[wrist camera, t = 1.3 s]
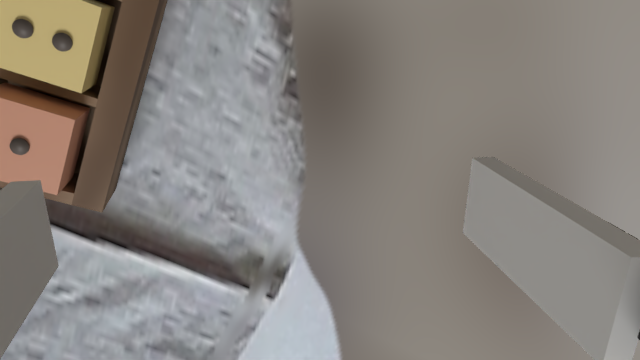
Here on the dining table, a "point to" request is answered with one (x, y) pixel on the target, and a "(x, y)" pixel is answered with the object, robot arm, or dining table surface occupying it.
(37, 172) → the tile one
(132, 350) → the dining table surface
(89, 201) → the key strip
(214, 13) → the dining table surface
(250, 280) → the dining table surface
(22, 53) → the tile two
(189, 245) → the dining table surface
